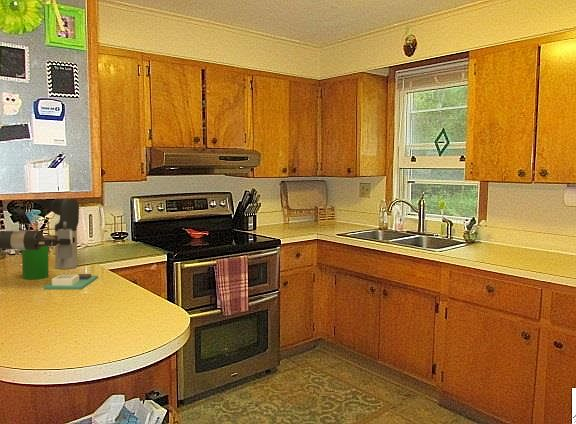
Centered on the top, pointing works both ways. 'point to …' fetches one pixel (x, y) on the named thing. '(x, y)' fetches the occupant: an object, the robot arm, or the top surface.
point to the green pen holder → (35, 263)
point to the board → (71, 281)
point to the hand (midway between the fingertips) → (72, 240)
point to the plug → (65, 250)
